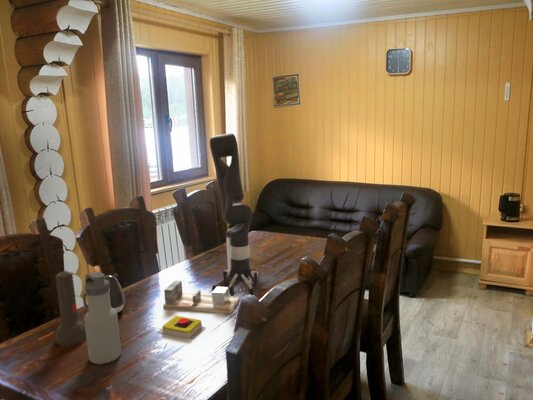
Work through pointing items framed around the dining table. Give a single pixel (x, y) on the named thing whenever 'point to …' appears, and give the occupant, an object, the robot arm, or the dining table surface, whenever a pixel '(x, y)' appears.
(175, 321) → the emergency button
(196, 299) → the drag pointer
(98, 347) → the water bottle
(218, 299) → the light grey cube
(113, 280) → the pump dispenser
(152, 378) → the dining table surface
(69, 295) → the flashlight
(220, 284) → the hand tool
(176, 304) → the base
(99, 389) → the dining table surface
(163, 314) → the dining table surface
